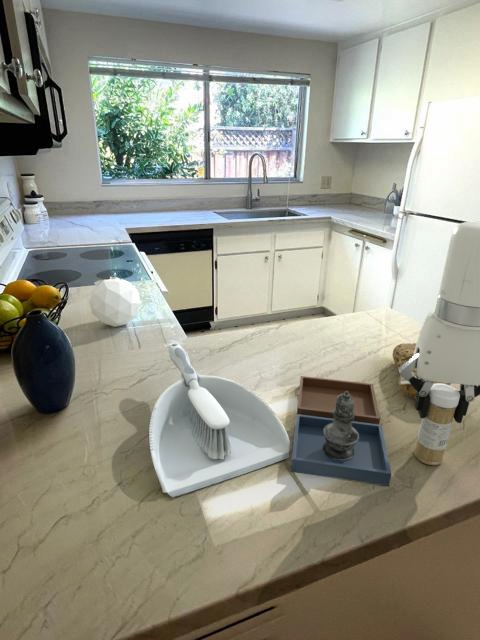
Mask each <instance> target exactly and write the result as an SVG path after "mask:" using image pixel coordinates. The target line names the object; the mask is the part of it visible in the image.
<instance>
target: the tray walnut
mask: <svg viewBox="0 0 480 640" xmlns="http://www.w3.org/2000/svg"><path fill="white" fill-rule="evenodd" d="M345 391H348V392H349V395H351V396H353V398H354V400H355V403H354V410H353V413H354V414H355V418H354V420H352V421H355V422H363V423H371V424H379V425H380V421H381V416H380V411H379V406H378V402H377V396H376V392H375V386H374V383H369V382H367V383H366V382H359V381H358V382H357V381H349V380H341V379H332V378H323V377H314V376H306V375H300V379H299V388H298V398H297V405H296V406H297V407H296V415H297V414H300V415H308V416H316V417H324V418H332V419H334V416H333V414H332V412H333V410H335V407H336V400H337V397H338V396H339V395H340V394H344V392H345Z"/></svg>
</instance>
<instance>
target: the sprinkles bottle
mask: <svg viewBox="0 0 480 640" xmlns="http://www.w3.org/2000/svg"><path fill="white" fill-rule="evenodd" d="M459 391H460V390H458V389H457V388H455V387H453V386H452V385H450V386H449V385H446V384H441V383H436V384H433V386H432V387H431V389H430V391H429V393H428V395H429V397H430V402H429V406H428V410H427V414H426V418H424V419H423V418H421V422H420V425H419V426H420V427H419V429H418V434H417V441H416V445H415V447H414V451H413V453H414V455H415V458H416V459H417V460H418V461H420V462H421V463H423V464H426V465H427V466H438V465H440V464H442V463H443V460H444V453H445V450H446V448H447V445H448V441H449V438H450V433H451V430H452V426H453V423H454V413H455V409H456V407H457V405H458V403H459V399H460V393H459Z"/></svg>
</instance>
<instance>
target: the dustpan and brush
mask: <svg viewBox="0 0 480 640" xmlns="http://www.w3.org/2000/svg"><path fill="white" fill-rule="evenodd" d="M167 350H168V355H169V358H170V360H171V362H172V364H173V365H174V366H175V367H176V368H177V369H178V370H179V372H180V375H181V376H180V378H179V379H178V380H177V381H175V382H174V383H172V384H171V385H169V386H168V387H167V388H166V389H165V390H163V392H162V393H161V394H160V395H159V397H158V398H157V400H156V401H155V403H154V406H153V410H152V413H151V416H150V420H149V425H148V426H149V428H148V432H149V433H148V441H149V442H148V443H149V450H150V456H151V461H152V465H153V468H154V471H155V474H156V476H157V479H158V481H159V484H160V487H161V491H162V493H164V494H167V495H168V496H169V497H171V498H172V499H173V498H175V497H179V496H182V495H184V494H185V495H186V494H188V493H192V492H194V491H197V490H200V489H203V488H206V487H209V486H213V485H216V484H218V483H221V482H224V481H227V480H231V479H233V478H237V477H239V476H242V475H245V474H248V473H251V472H253V471H256V470H259V469H262V468H264V467H267V466H270V465H273V464H275V463H276V464H277V463H278V462H281V461H284V460H286V459H289V458H290V452H292V451H291V449H292V448H291V441H290V438H289V434H288V431H287V430H286V427H285V426H284V424H283V422H282V421H281V419H280V418H279V416H278V415H277V414H276V413H275V411H273V408H271V406H270V405H268V403H267V402H265V400H263V398H261V397H260V396H259V395H257V393H255V392H254V391H252V390H250V388H248V387H246V386H245V385H243V384H241V383H239V382H237V381H234V380H232V379H229V378H225V377H223V376H217V375H208V374H207V375H205V374H199V373H198V372H197V371H196V369H195V368H194V367H193V366H192V363H191V360H190V357H189V354H188V352H187V351H186V350H185V349H184V347H182V345H180V344H179V343H178V342H171V343H168V345H167Z"/></svg>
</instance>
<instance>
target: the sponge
mask: <svg viewBox="0 0 480 640" xmlns="http://www.w3.org/2000/svg"><path fill="white" fill-rule="evenodd" d="M416 343H417V342H416ZM416 343H414V342H413V343H410V342H409V343H399V344H397V345H396V346H395V347H394V348H393V350H392V355H391V356H392V359H393V361H394V364H395V367H396V368H397V370H398V371H399V368H400V367H401V366H402V365H403V364H405V363H406V362H407V361H408V360H409V359H411V358H412V357H413V354H414V350H415V347H416ZM412 373H413V374H415V375H416V376H417V368H416V369H415V370H413V371H412ZM417 377H418V376H417ZM418 378H419V377H418ZM436 383H441V384H446V385H449V386H451V384H452V383H444V382H434V384H436ZM398 387H399V389H400V391H401V392H402V394H403V395H404V396H407V397H408V398H411V399H414V400H416V395H417V390H416V389H415V388H414V387H413V386H412V385H411V384H410V382H408V381H407V380H406V379H404V378H403V377H402V376H401V375H400V374H399V377H398Z"/></svg>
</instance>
